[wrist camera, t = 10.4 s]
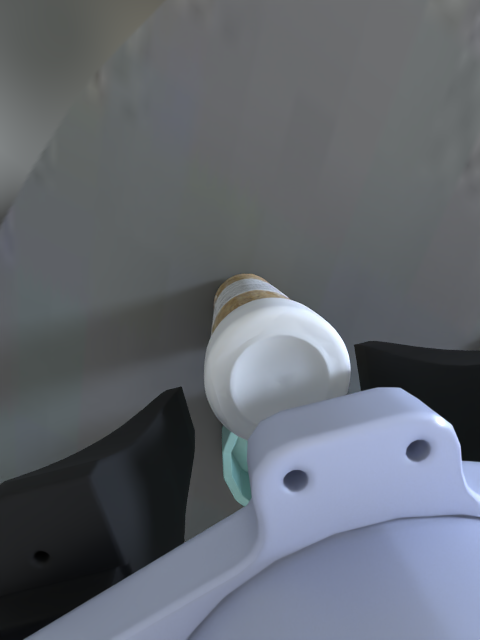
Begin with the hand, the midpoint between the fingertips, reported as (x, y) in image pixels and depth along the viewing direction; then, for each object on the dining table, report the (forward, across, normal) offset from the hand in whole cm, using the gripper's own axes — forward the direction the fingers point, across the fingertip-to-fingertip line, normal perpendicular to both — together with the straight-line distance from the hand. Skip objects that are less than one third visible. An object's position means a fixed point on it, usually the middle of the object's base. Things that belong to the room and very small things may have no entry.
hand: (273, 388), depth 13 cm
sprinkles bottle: (+10, 0, -2) cm, 11 cm away
